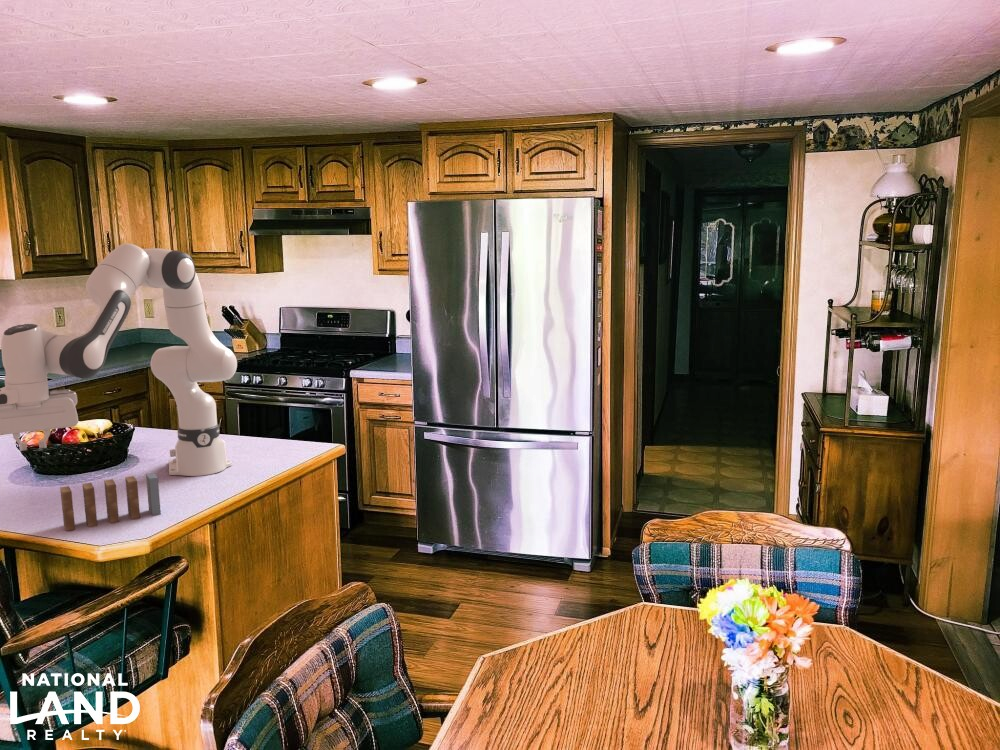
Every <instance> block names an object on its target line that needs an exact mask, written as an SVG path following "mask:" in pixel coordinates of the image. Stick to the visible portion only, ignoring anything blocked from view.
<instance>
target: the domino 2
mask: <svg viewBox="0 0 1000 750" xmlns="http://www.w3.org/2000/svg"><path fill="white" fill-rule="evenodd" d="M82 493H83V505H84V514H85V522H86V525H87V526H88V528H94V527H97V526H98V516H97V515H98V514H97V505H96V496H95V487H94V485H93V484H92V482H86V483H82Z"/></svg>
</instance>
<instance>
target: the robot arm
mask: <svg viewBox="0 0 1000 750" xmlns="http://www.w3.org/2000/svg"><path fill="white" fill-rule="evenodd" d="M140 286H143V287H147V288H152V289H153V288H154V289H162V294H163V295H162V296H163V303H164V310H165V317H166V322H167V328H168V330H169V331H170V332H171V334H173V335H174V336H176V337H178V338H179V339H181V340H183V341H184V343H186V344H187V345H173V346H166V347H160V348H158V349H156V350H155V351H154V353H153V354H152V356H151V359H150V370H151V372H152V374H153V375H154V377H155V378H156V379H158V380H159V381H161V382H162V383H163V384H164V385H165V386H166V387H167V388H168V389H169V391H170V393H171V394H172V397H173V399H174V401H175V405H176V409H177V415H178V427H177V438H178V439H177V441H176V444H175V445H174V448H173V449H169V457H171V458H172V459H169V460H168V475H170V476H186V477H197V476H198V477H200V476H201V477H202V476H208V475H213V474H216V473H219V472H220V473H221V472H222V471H224V470H226V469H227V468H228V467H229V468H230V467H231V466H233V462H232V461H230V460H228V458H227V450H226V449H227V448H226V441H225V440H224V439H222V438H221V437H220V425H219V424H218V417H217V403H216V400H215V399H214V398H213V397H214V396H212V395H210V394H209V393H207V392H205V391H203V390H202V389H201V388H200V386H199V384H198V383H217V382H223V381H227V380H230V379H232V378H233V376H234V375H235V373H236V372H237V370H238V369H237V368H238V360H237V357H236V355H235V353H234V352H233V351H232V349H230V348H228V347H227V346H225V345H224V344H223V343H222V342H221V341H219V339H218V338H217V336H215V334H214V333H213V331H212V328H211V326H210V324H209V320H208V316H207V310H206V304H205V298H204V293H203V289H202V285H201V283H200V279H199V277H198V273H197V272H196V264H195V261H194V260H193V259H192V257H191V256H190V255H189V254H188V253H186V252H183V251H180V250H175V249H174V250H171V249H168V248H167V249H166V248H161V247H160V248H158V247H155V248H141V247H140V246H138V245H137V244H134V243H122V244H120V245H118V246H116V248H114V249H113V250H112V251H111V252H109V253H108V254H107V255H106V256H105V257H104V258H103V259H102V260H101V261H100V262H99V264H98V265H97V266H96V267H95V268H94V270H93V271H92V272H91V273H90V275H89V277H88V278H87V280H86V283H85V290H86V293H87V295H88V297H89V299H90V300H91V301H92V303H94V304H95V306H97V307H98V308H100V309H99V311H98V313H97V315H96V316H95V318H94V320H93V321H92V323H91V325H90V326H89V328H88V330H87V331H85V333H82V334H80V335H76V336H73V335H72V336H71V335H63V334H62V335H61V334H57V333H53V332H49V331H47V330H45V329H43V328H41V327H40V326H39V325H37V324H34V323H24V324H17V325H13V326H11V327H9V328H7V329H6V330H4V332H3V334H2V337H1V349H0V350H1V358H2V359H1V361H2V366H3V368H4V372H5V375H4V377H5V378H4V386H3V387H0V436H5V435H12V438H13V439H14V440H15V442H17V444H18V445H19V452H22V451H28V448H27V447H28V446H27V445H28V444H27V441H22V440H21V439H20V438H21V433H30V432H38V431H40V432H41V431H43V432H42V433H43V434H44V436H43V438H42V439H39V440H38V443H39V445H38V446H39V449H47V447H48V446H47V442H48V440H49V437H50V436H51V430H54V429H64V428H72V427H77V425H78V423H79V416H78V412H77V408H76V406H77V404H78V401H79V400H78V395H77V393H76V392H75V391H73V390H70V389H69V388H67V389H55V390H49V383H48V374H54V375H62V376H70V377H74V378H78V379H90V378H92V377H94V376H96V375H97V374H98V373H100V372H101V370H102V368H103V367H104V366H105V363H106V359H107V357H108V354H109V353H108V352H109V350H110V348H111V346H112V344H113V342H114V340H115V338H116V337H117V335H118V333H119V331H120V330H121V328H122V326H123V324H124V322H125V321H126V318H127V316H128V314H129V313H130V311H131V305H132V301H131V299H132V297H133V295H134V294H135V293H136V292H137V290H138V288H139V287H140Z"/></svg>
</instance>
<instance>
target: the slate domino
mask: <svg viewBox="0 0 1000 750" xmlns="http://www.w3.org/2000/svg"><path fill="white" fill-rule="evenodd" d="M145 480H146V491H147V493H146V494H147V504H148V511H149V512H150V514H151V516H157V515H162V514H161V500H160V498H161V497H160V487H159V477H158V476H157V474H155V473H154V472H151V473H146V474H145Z"/></svg>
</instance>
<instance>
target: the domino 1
mask: <svg viewBox="0 0 1000 750" xmlns="http://www.w3.org/2000/svg"><path fill="white" fill-rule="evenodd" d="M59 490H60V500H61V509H62V510H61V511H62V520H63V521H62V522H63V526H64V530H65V532H69V531H70V532H71V531H75V530H76V524H75V523H76V522H75V515H74V503H73V493H72V492H73V491H72V489H71V487H70V485H66V486H61V487H60V489H59Z"/></svg>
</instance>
